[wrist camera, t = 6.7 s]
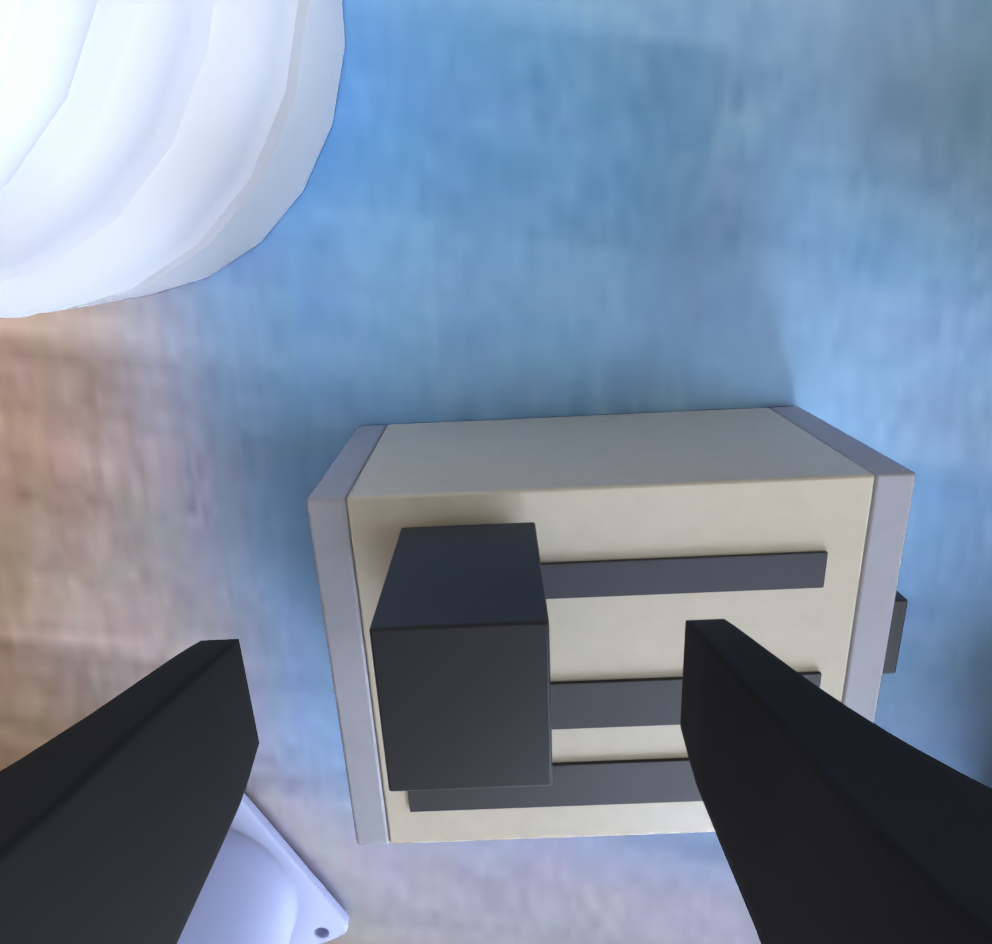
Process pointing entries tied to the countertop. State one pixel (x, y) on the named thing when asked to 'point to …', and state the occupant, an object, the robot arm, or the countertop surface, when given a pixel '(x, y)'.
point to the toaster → (618, 590)
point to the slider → (464, 659)
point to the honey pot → (153, 139)
